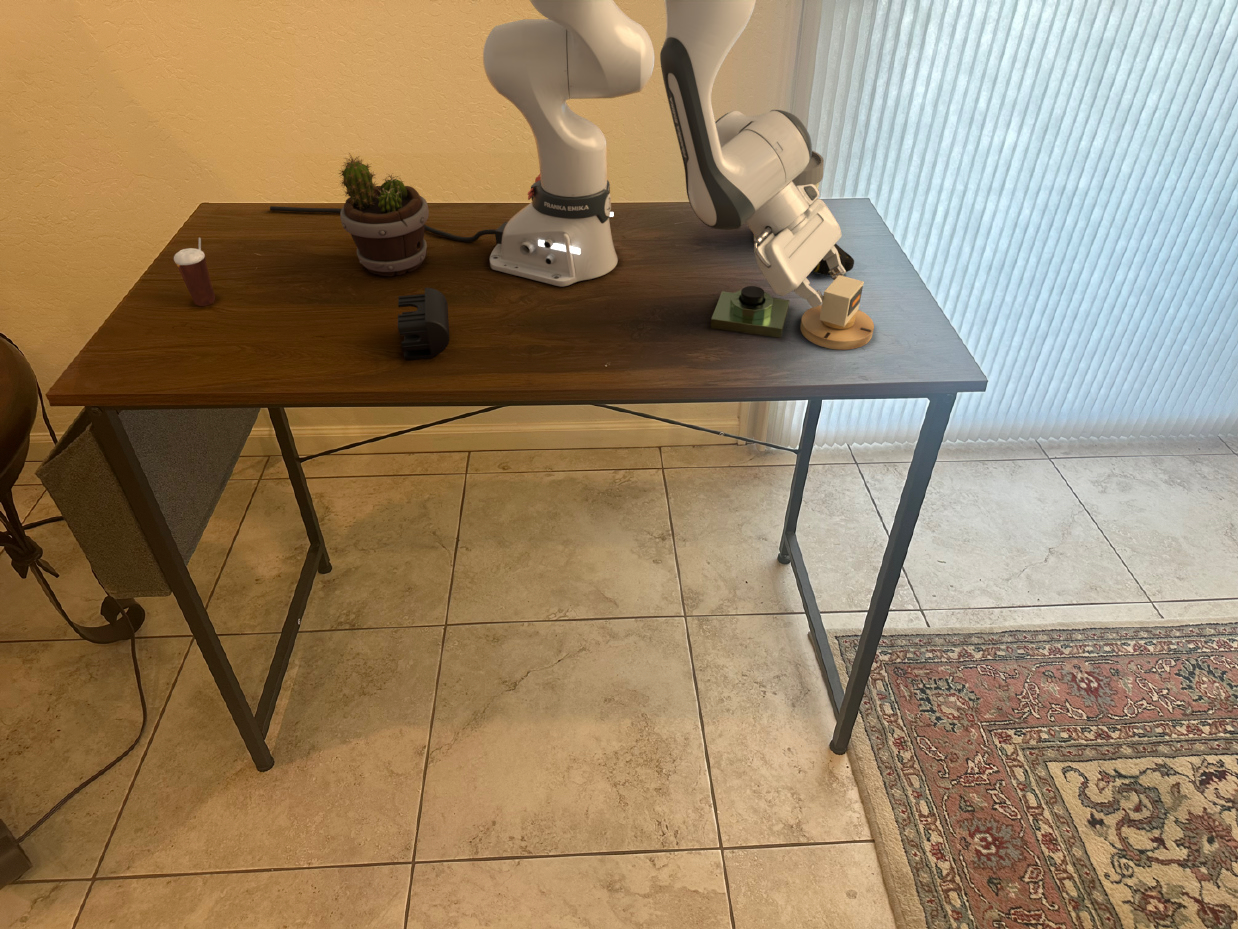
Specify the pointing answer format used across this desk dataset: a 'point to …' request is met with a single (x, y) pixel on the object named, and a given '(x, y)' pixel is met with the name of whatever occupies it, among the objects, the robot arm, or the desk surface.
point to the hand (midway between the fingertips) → (830, 290)
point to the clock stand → (836, 331)
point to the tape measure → (844, 258)
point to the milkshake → (195, 275)
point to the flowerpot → (383, 221)
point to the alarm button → (752, 296)
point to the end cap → (424, 324)
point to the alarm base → (750, 315)
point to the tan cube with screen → (841, 302)
